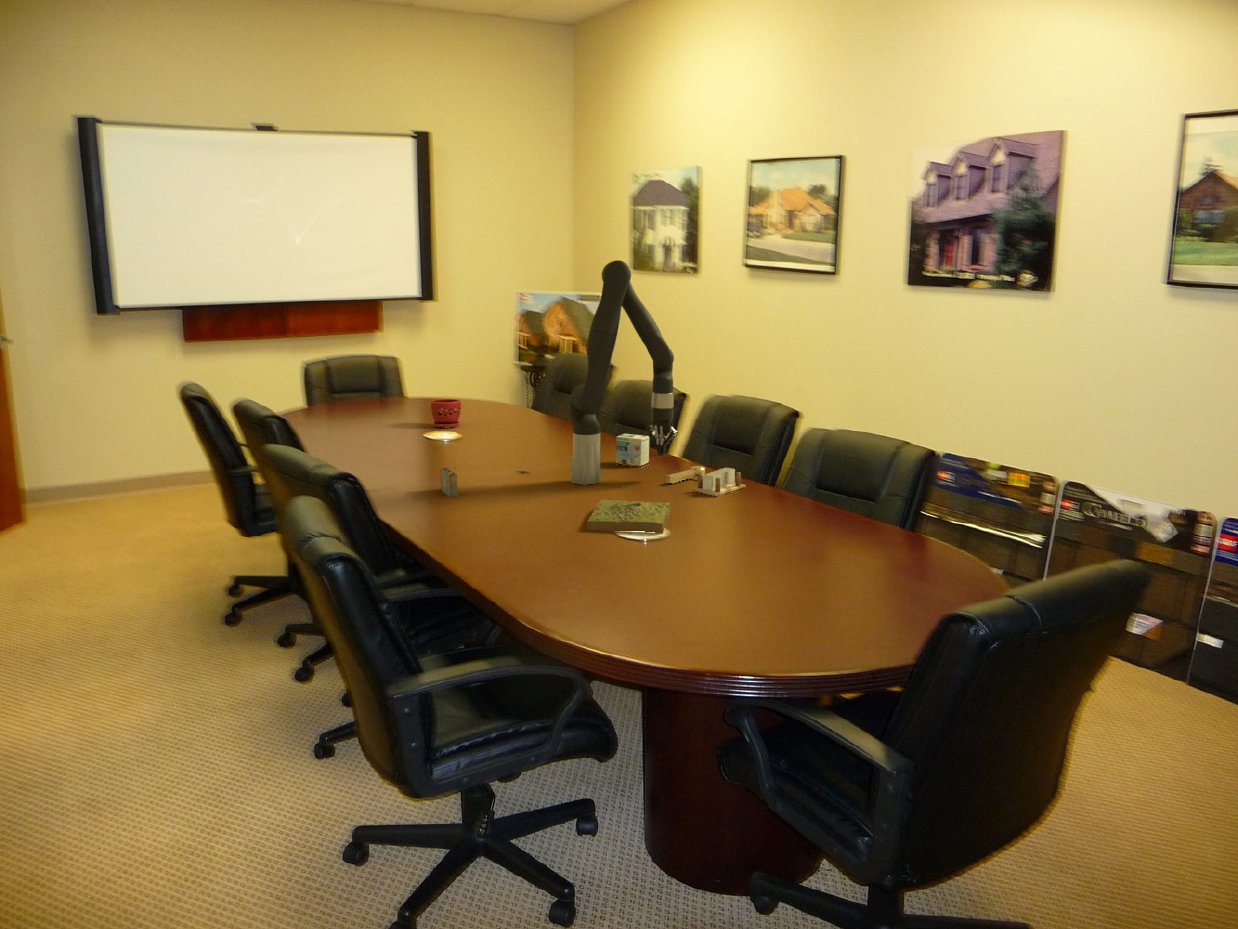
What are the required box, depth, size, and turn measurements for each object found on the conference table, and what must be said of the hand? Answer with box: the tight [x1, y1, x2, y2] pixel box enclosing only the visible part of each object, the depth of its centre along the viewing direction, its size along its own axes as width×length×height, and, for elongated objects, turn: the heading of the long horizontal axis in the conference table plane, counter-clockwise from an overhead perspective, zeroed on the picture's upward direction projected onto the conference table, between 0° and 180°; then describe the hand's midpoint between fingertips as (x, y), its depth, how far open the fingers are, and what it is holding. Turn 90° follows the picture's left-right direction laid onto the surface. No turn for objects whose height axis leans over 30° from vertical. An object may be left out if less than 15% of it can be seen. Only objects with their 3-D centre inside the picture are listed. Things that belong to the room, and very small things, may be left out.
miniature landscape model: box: [586, 499, 672, 535], centre depth 285 cm, size 22×24×5 cm
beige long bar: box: [665, 465, 706, 484], centre depth 336 cm, size 18×5×3 cm, turn 137°
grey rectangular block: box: [703, 467, 736, 491], centre depth 322 cm, size 14×4×5 cm, turn 142°
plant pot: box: [430, 398, 462, 429], centre depth 432 cm, size 13×13×12 cm
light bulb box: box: [615, 433, 650, 466], centre depth 359 cm, size 11×7×11 cm, turn 62°
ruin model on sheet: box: [439, 466, 459, 498], centre depth 316 cm, size 11×3×10 cm, turn 24°
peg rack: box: [692, 468, 746, 497], centre depth 322 cm, size 16×10×6 cm, turn 137°
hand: (661, 455), depth 335 cm, fingers closed
